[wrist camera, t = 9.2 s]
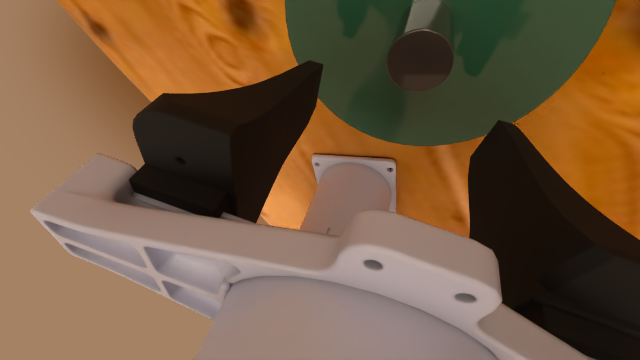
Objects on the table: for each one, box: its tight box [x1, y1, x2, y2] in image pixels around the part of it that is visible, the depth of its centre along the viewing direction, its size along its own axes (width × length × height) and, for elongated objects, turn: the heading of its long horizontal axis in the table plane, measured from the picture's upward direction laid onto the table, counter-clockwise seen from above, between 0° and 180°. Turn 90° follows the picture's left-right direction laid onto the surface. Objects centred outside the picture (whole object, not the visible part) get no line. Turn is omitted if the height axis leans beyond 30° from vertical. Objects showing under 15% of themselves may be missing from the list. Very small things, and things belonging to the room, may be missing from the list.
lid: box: [285, 0, 616, 146], centre depth 13 cm, size 13×13×4 cm
